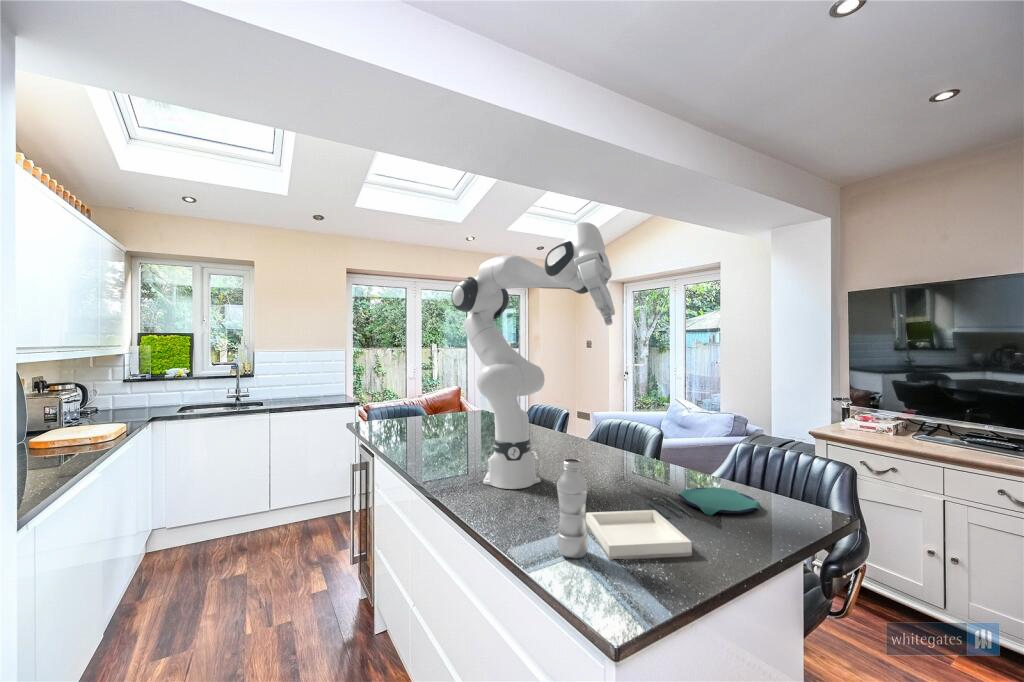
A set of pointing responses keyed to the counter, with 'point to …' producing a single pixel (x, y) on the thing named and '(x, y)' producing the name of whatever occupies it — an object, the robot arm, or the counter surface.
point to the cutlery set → (712, 501)
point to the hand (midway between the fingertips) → (604, 315)
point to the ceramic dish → (637, 535)
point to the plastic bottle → (572, 511)
